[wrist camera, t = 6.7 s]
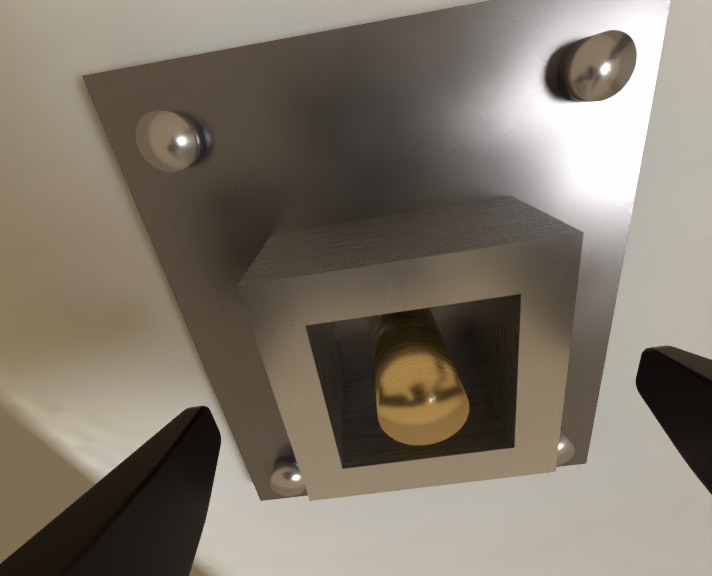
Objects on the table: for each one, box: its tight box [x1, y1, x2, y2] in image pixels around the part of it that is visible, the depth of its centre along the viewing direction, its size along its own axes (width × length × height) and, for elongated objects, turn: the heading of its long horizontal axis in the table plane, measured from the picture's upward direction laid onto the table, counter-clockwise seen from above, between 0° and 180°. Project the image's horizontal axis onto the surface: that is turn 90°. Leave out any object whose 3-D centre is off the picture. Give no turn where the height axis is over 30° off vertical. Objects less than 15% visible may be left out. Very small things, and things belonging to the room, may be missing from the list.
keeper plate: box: [82, 0, 671, 501], centre depth 9 cm, size 12×14×4 cm
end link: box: [238, 196, 584, 501], centre depth 9 cm, size 6×6×3 cm
